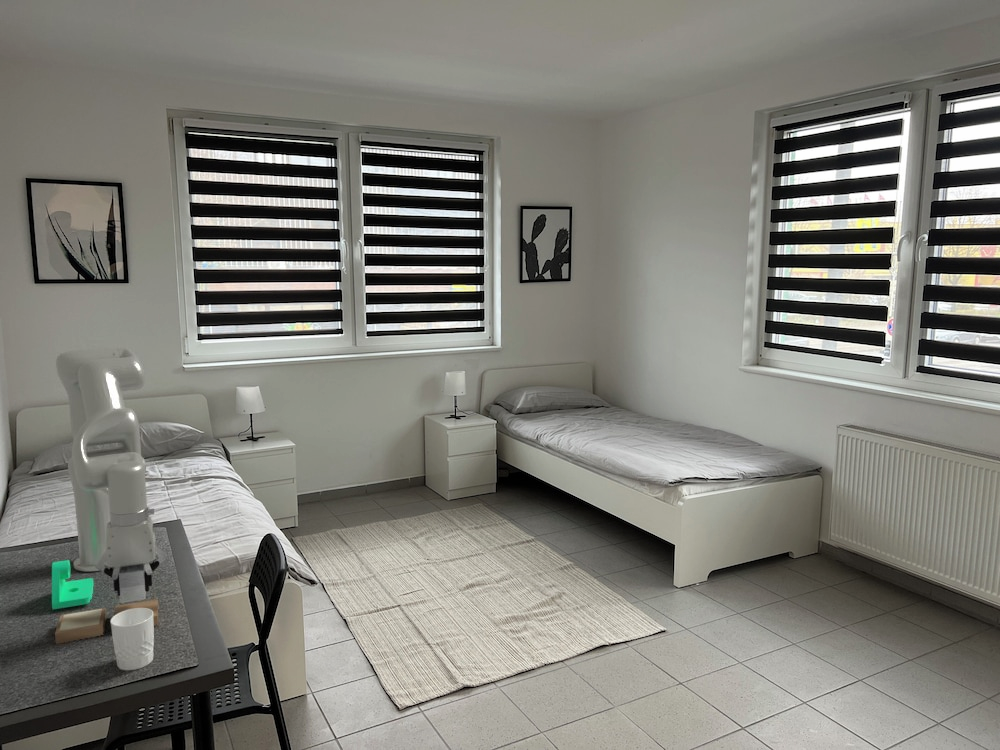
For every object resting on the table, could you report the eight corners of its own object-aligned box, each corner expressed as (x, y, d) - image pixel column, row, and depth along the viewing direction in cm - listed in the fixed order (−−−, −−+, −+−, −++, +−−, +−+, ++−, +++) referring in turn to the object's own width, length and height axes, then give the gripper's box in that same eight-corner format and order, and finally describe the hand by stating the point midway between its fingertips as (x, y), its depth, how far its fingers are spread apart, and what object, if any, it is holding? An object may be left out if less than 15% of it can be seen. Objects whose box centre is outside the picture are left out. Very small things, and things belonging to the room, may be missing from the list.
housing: (122, 589, 169) (120, 561, 167) (146, 585, 171) (144, 557, 170) (120, 603, 162) (118, 574, 161) (145, 599, 165) (143, 570, 163)
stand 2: (116, 615, 169) (115, 605, 169) (158, 608, 173) (157, 598, 172) (113, 633, 161) (112, 623, 161) (158, 626, 165) (157, 615, 164)
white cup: (128, 676, 145) (124, 630, 143) (106, 665, 149) (102, 619, 147) (164, 658, 151) (161, 613, 150) (142, 648, 155) (139, 604, 154)
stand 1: (61, 625, 165) (60, 614, 164) (106, 617, 168) (105, 606, 168) (55, 644, 156) (54, 632, 156) (103, 635, 160) (102, 624, 160)
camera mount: (89, 607, 173) (86, 567, 172) (52, 613, 170) (49, 572, 169) (94, 587, 184) (91, 548, 183) (59, 592, 181) (56, 553, 179)
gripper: (170, 506, 170) (174, 578, 173) (87, 515, 163) (92, 589, 166) (170, 517, 163) (174, 592, 167) (83, 527, 156) (89, 605, 160)
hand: (133, 590), depth 166 cm, fingers closed on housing, 5 cm apart
